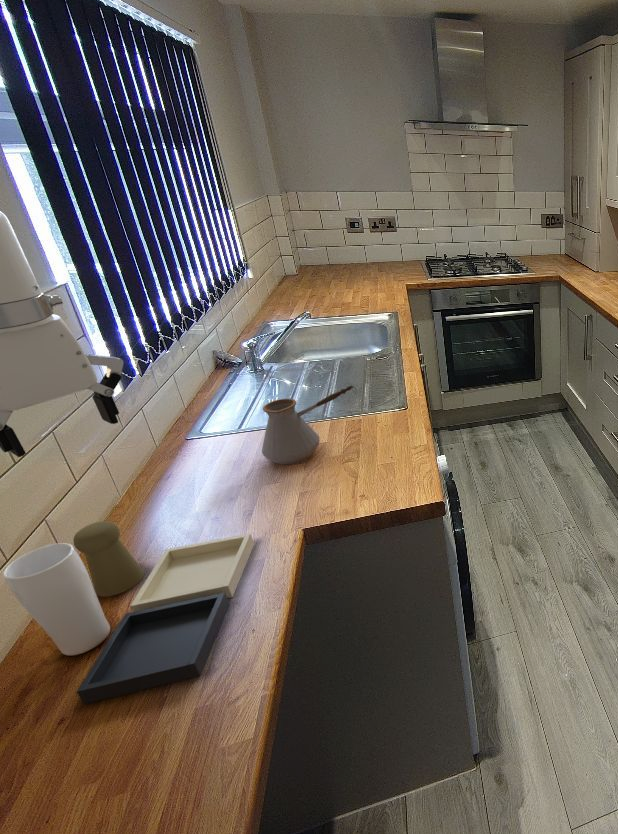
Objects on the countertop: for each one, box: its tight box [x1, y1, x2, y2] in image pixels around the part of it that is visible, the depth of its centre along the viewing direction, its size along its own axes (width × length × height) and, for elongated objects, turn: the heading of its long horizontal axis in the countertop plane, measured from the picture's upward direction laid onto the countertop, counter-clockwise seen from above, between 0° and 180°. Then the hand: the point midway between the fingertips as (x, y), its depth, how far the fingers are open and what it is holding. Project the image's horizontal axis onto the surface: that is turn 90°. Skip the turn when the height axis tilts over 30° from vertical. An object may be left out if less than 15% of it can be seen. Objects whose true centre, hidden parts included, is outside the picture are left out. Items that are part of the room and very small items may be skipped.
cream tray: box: [129, 533, 255, 612], centre depth 85 cm, size 13×13×2 cm
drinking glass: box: [2, 542, 111, 656], centre depth 71 cm, size 7×7×15 cm
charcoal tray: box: [76, 593, 230, 705], centre depth 72 cm, size 13×13×2 cm
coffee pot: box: [261, 385, 358, 465], centre depth 117 cm, size 21×12×15 cm, turn 110°
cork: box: [72, 520, 145, 598], centre depth 82 cm, size 6×6×11 cm
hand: (67, 436), depth 71 cm, fingers open, 9 cm apart
